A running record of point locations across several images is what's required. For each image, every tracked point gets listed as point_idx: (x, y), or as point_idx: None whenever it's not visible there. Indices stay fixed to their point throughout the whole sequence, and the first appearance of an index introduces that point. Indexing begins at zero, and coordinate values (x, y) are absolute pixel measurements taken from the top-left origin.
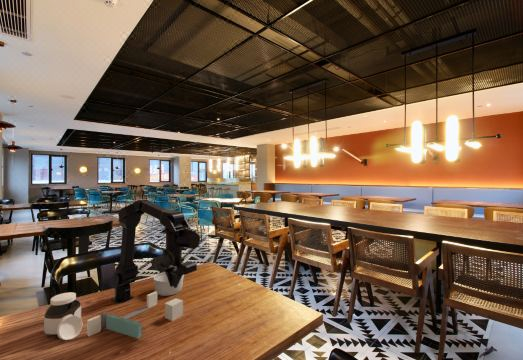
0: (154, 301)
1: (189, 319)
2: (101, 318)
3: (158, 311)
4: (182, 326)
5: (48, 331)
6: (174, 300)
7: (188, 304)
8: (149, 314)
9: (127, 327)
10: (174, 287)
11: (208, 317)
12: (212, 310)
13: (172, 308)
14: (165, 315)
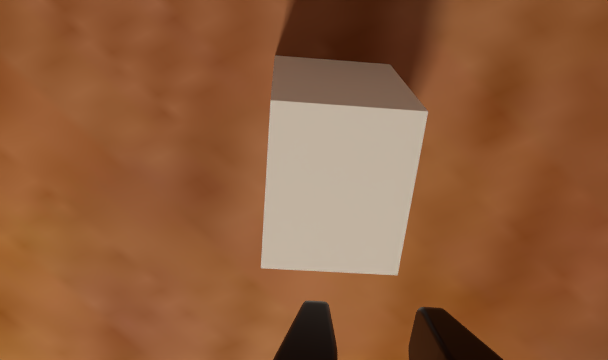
0: None
1: (147, 155)
2: None
3: (545, 126)
4: (100, 27)
5: None
6: (365, 224)
7: (360, 335)
8: (598, 38)
9: None
10: (308, 307)
11: (26, 256)
12: (93, 350)
13: (271, 92)
14: (387, 70)
